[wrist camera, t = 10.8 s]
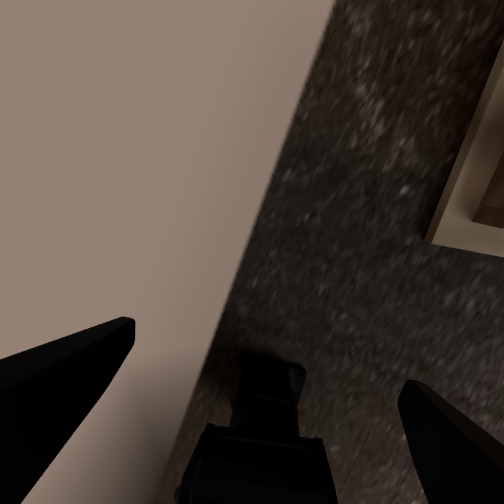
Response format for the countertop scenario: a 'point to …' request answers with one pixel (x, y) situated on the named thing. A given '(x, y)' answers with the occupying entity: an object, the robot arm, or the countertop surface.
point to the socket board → (477, 179)
